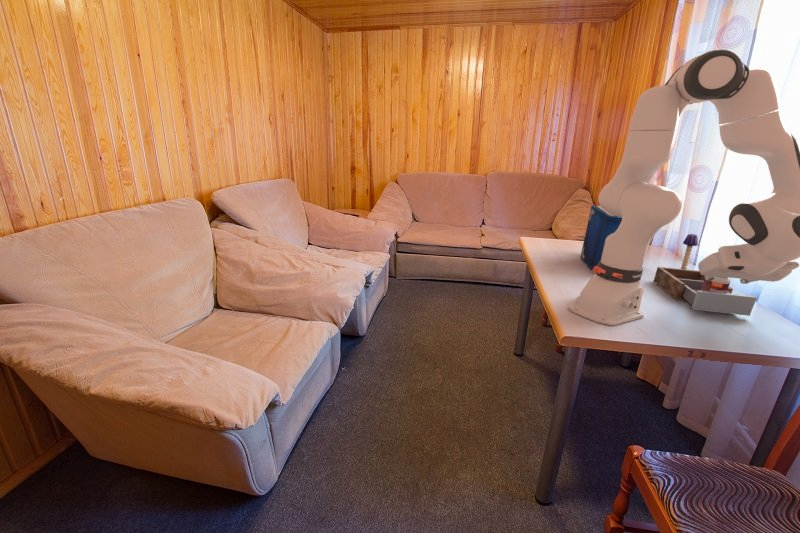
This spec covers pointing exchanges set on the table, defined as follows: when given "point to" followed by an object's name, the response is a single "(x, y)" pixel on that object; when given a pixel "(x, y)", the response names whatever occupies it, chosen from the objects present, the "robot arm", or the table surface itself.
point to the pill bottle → (716, 284)
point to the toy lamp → (689, 248)
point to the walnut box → (676, 280)
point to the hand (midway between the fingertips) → (724, 279)
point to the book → (597, 235)
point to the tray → (716, 299)
